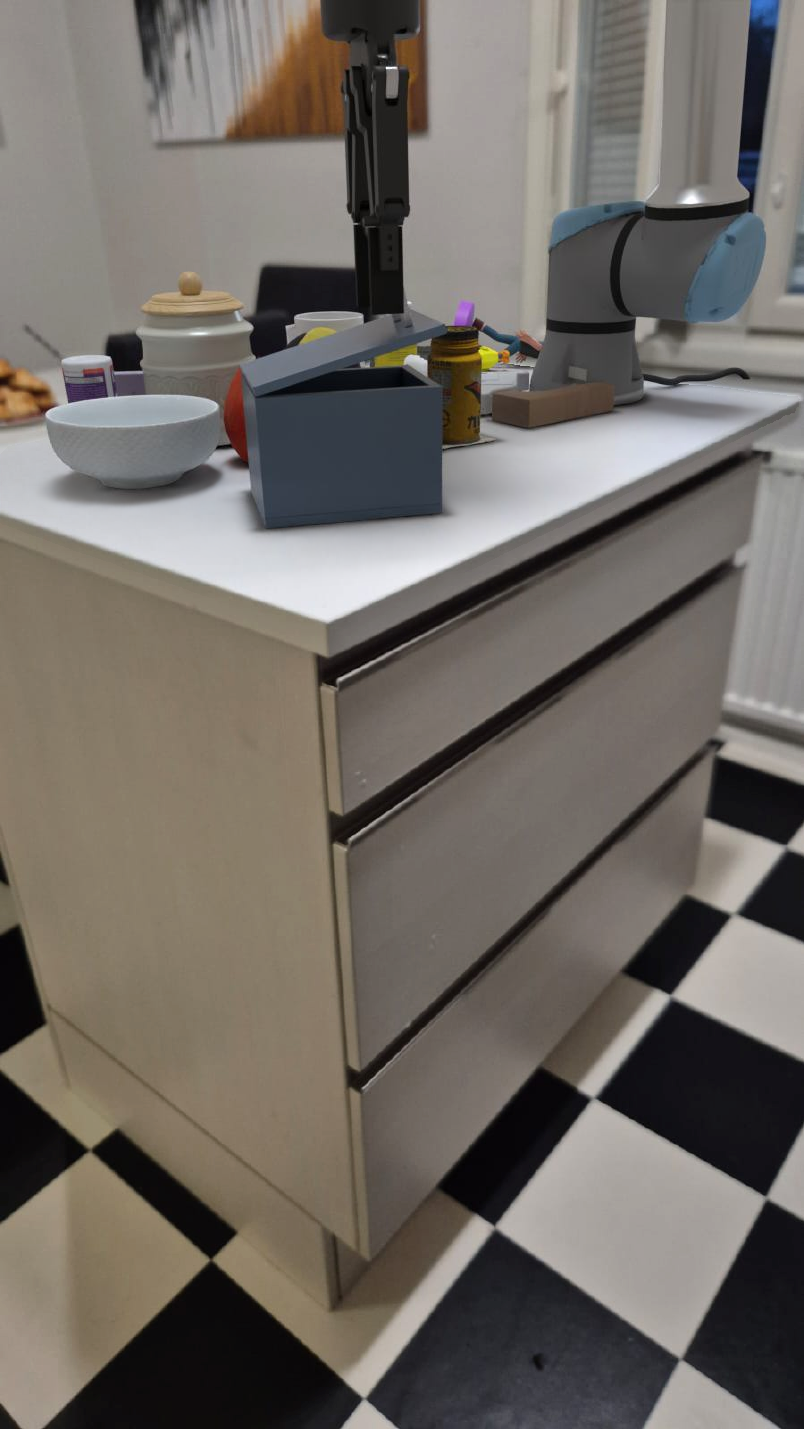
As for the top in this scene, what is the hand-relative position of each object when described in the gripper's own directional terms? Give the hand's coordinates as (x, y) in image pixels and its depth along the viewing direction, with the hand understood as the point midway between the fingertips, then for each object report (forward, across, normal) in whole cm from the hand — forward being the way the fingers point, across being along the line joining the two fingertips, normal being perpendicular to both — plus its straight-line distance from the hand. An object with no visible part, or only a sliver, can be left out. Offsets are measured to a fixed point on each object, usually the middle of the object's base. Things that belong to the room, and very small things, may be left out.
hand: (379, 309), depth 85 cm
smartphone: (+13, -40, -25) cm, 49 cm away
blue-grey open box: (+16, 0, -4) cm, 17 cm away
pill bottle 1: (+6, -30, -26) cm, 40 cm away
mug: (+17, -46, +2) cm, 50 cm away
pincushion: (+13, -44, +16) cm, 48 cm away
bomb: (+10, -38, -4) cm, 39 cm away
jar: (+16, -31, -14) cm, 38 cm away
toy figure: (+15, -63, +34) cm, 73 cm away
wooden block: (+15, -26, +21) cm, 37 cm away
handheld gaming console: (+15, -32, +20) cm, 40 cm away
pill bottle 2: (+17, -58, +15) cm, 62 cm away
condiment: (+17, -21, +12) cm, 29 cm away
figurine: (+12, -70, +28) cm, 77 cm away
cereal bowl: (+17, -14, -22) cm, 31 cm away
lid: (+3, 0, -4) cm, 5 cm away
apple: (+17, -18, -9) cm, 26 cm away
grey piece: (+17, -62, +18) cm, 67 cm away
